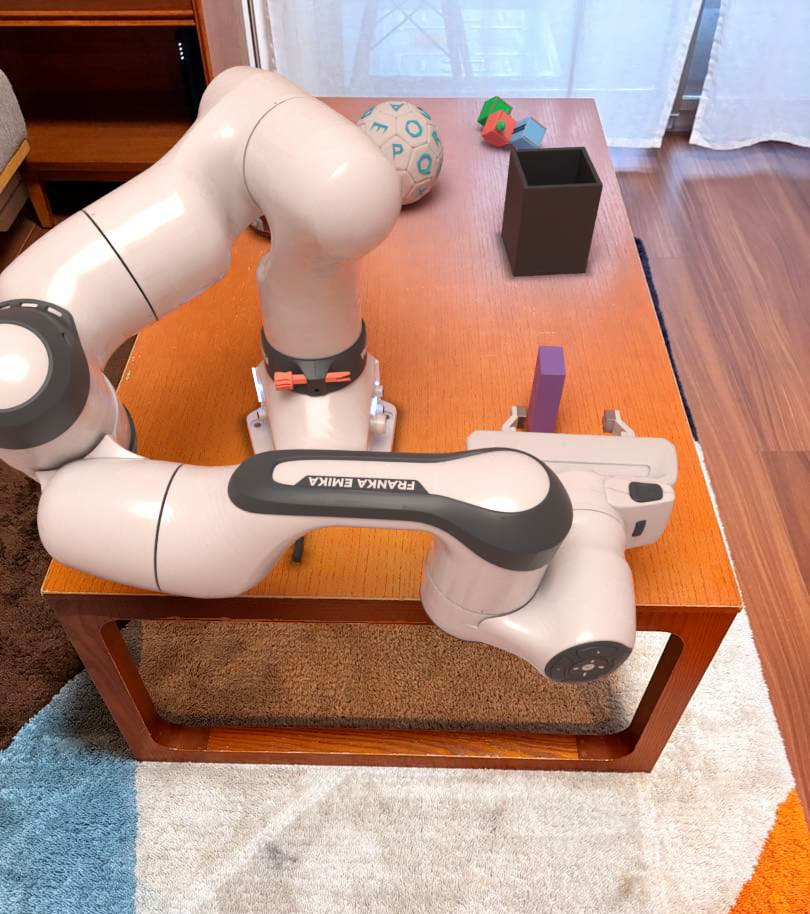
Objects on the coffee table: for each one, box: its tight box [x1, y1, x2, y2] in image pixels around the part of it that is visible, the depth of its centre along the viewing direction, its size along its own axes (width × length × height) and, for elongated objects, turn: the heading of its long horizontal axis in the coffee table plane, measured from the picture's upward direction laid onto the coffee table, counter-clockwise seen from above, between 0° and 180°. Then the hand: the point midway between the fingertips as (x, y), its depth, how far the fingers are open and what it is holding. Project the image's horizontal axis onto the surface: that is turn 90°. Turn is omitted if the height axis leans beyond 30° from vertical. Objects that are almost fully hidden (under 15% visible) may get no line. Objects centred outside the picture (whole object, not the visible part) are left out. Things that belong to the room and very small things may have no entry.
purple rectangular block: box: [526, 345, 567, 433], centre depth 98 cm, size 5×3×11 cm, turn 177°
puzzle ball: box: [355, 100, 444, 206], centre depth 130 cm, size 15×15×15 cm
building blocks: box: [477, 95, 548, 149], centre depth 145 cm, size 8×8×12 cm
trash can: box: [500, 146, 604, 277], centre depth 121 cm, size 11×11×14 cm
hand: (564, 412), depth 84 cm, fingers open, 8 cm apart
